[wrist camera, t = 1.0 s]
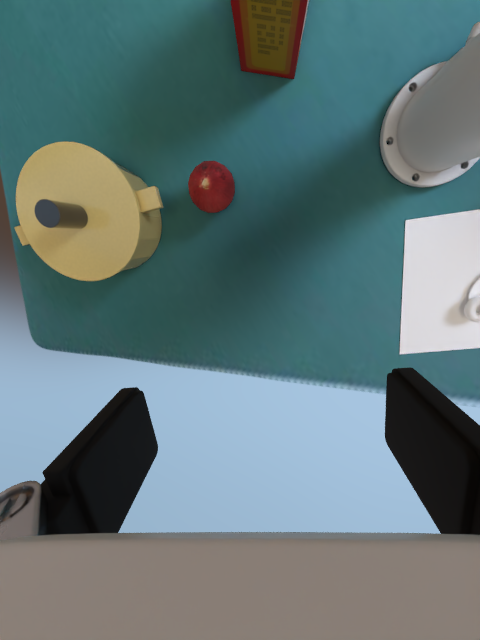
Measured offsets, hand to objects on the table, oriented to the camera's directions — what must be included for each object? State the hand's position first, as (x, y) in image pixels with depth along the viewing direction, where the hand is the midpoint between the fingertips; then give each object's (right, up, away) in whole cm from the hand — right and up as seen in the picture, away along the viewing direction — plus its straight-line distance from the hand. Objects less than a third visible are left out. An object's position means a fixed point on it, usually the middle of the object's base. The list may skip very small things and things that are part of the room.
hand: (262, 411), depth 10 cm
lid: (-20, +16, +22) cm, 34 cm away
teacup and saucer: (+33, +9, +27) cm, 43 cm away
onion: (-4, +21, +26) cm, 34 cm away
